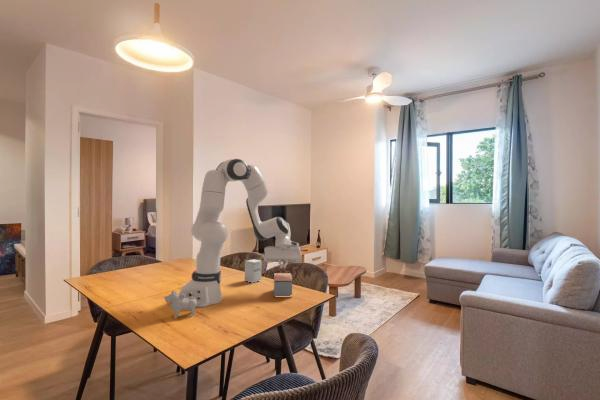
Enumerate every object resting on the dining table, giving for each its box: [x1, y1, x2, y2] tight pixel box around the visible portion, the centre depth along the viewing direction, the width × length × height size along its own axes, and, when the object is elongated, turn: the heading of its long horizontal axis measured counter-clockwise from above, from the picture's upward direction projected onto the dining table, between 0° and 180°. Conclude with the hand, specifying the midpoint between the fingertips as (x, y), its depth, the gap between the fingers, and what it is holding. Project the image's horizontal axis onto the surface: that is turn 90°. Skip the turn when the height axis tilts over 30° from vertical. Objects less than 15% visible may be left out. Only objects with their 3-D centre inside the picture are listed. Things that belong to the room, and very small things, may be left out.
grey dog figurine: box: [163, 290, 197, 319], centre depth 127 cm, size 5×13×11 cm, turn 112°
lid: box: [273, 272, 293, 282], centre depth 160 cm, size 9×13×1 cm
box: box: [273, 280, 293, 297], centre depth 160 cm, size 9×13×8 cm
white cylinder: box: [244, 258, 263, 284], centre depth 182 cm, size 7×7×13 cm
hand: (283, 267), depth 158 cm, fingers closed
